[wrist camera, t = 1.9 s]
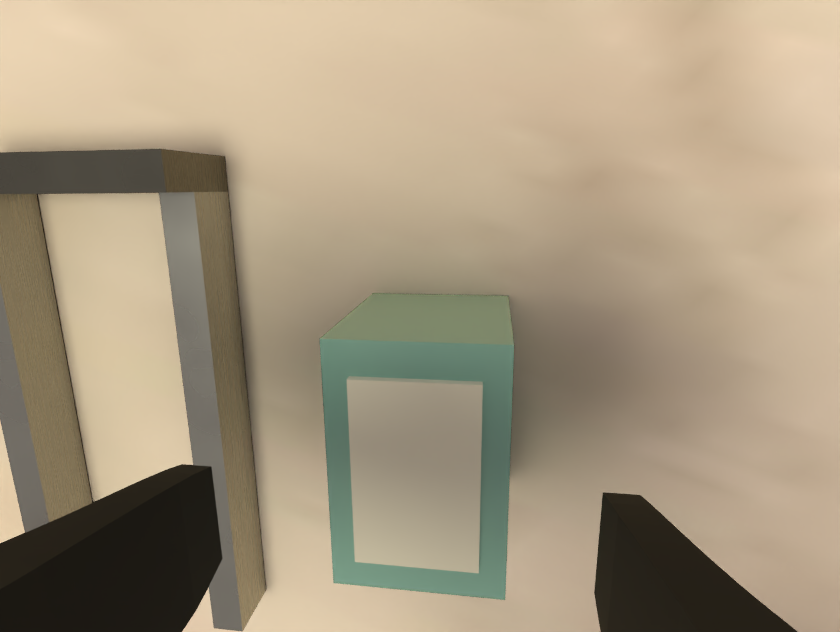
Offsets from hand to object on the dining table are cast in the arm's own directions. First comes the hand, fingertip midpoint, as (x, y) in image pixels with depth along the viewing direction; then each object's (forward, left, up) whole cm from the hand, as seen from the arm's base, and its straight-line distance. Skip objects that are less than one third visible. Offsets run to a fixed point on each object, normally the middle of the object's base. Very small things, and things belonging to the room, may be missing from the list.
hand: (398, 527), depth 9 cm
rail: (-1, +10, -7) cm, 12 cm away
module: (0, 0, -7) cm, 7 cm away
